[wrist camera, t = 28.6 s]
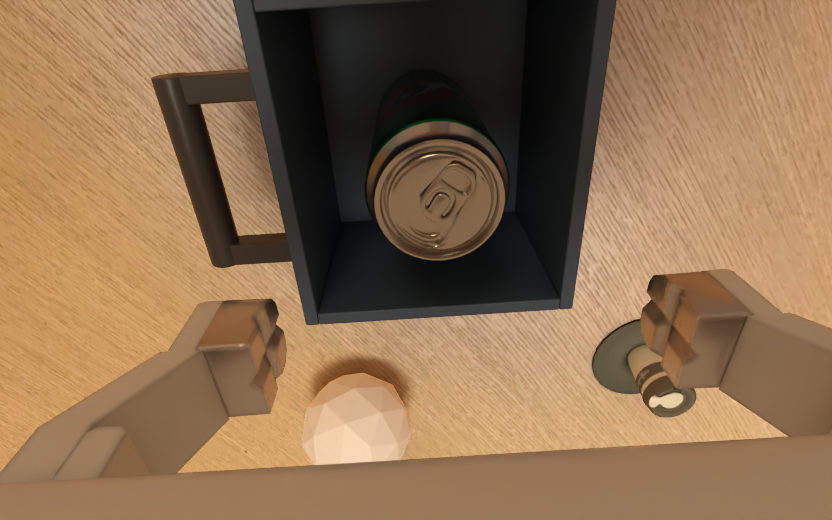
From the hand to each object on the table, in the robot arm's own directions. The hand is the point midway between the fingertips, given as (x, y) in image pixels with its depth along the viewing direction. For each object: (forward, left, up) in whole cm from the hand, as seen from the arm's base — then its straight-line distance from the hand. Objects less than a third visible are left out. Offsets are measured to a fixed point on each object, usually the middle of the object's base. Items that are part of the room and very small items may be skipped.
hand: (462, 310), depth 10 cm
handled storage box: (0, -2, -18) cm, 18 cm away
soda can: (0, 0, -18) cm, 18 cm away
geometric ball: (+21, -6, -19) cm, 29 cm away
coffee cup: (+19, +16, -19) cm, 31 cm away
